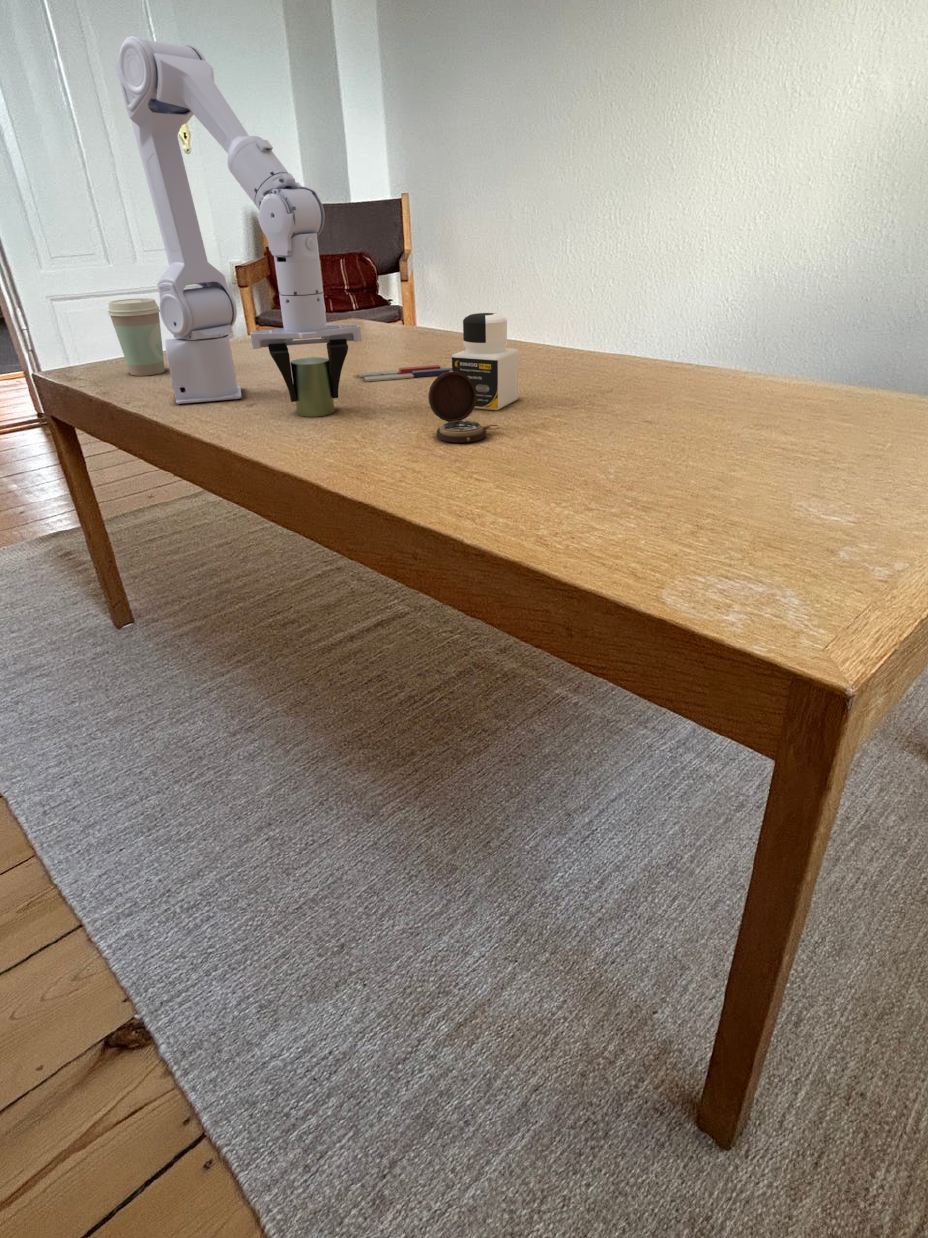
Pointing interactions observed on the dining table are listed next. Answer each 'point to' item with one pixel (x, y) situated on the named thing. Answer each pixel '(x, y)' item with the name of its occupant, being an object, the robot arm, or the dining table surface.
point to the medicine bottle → (488, 360)
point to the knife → (410, 374)
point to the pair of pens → (401, 370)
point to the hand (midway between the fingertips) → (314, 398)
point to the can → (312, 386)
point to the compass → (456, 408)
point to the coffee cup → (139, 334)
